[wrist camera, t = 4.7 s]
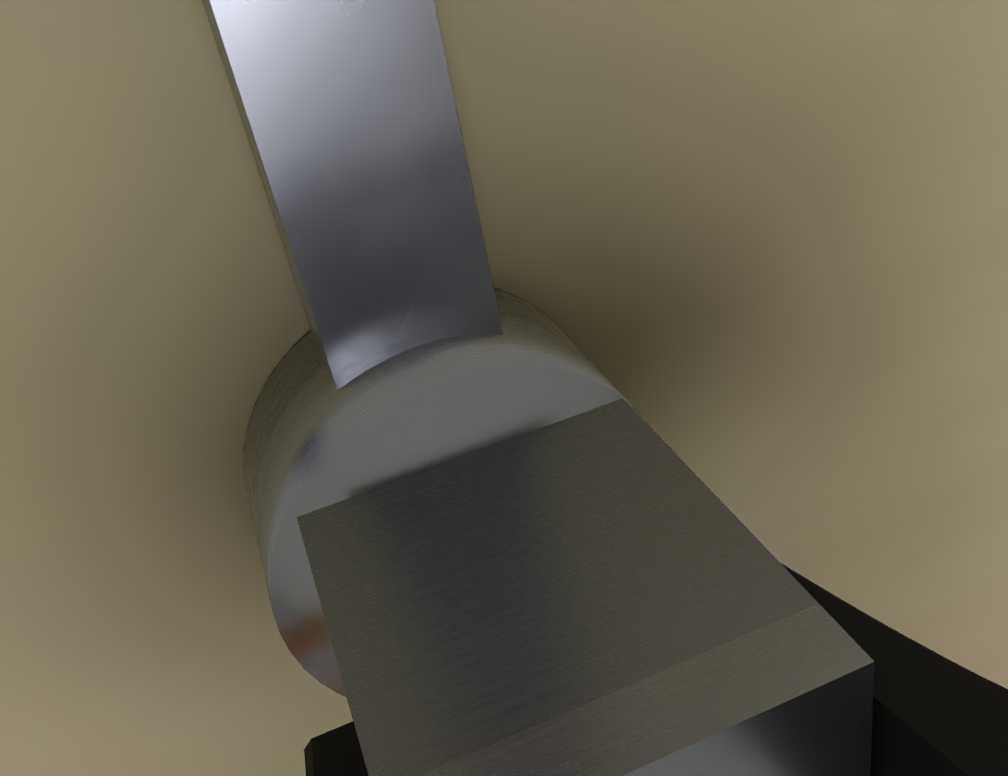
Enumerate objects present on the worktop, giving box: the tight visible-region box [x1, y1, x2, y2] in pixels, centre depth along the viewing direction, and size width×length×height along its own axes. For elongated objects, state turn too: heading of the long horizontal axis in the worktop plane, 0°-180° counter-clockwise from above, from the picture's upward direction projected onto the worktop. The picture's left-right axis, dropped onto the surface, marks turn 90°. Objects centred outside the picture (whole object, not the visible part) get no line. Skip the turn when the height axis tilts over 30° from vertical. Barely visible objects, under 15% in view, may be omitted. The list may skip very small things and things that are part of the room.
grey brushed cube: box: [297, 398, 874, 776], centre depth 11 cm, size 4×4×5 cm
